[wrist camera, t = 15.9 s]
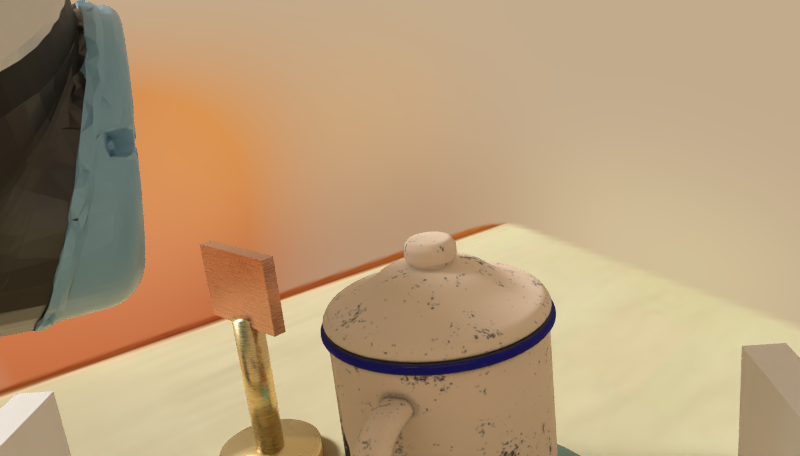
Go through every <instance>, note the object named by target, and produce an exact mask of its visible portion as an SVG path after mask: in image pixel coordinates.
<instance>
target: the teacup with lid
mask: <svg viewBox="0 0 800 456" xmlns="http://www.w3.org/2000/svg"><path fill="white" fill-rule="evenodd" d="M403 250H404V258H402V259H400V260H397V261H395V262H393V263H391V264H390V265H388V266H386V267H385V268H384V269H382V270H381V271H380V272H378V273H375V274H372V275H369V276H367V277H364V278H362V279H360V280H358V281H356V282H354V283H352V284H351V285H349V286H347V287H346V288H345V289H343V290H342V291H341V292H339V293H338V294H337V295H336V296H335V297H334V298H333V299H332V301H331V302H330V303H329V305H328V307H327V309H326V311H325V314H324V316H323V323H322V326H321V338H322V341H323V344H324V345H325V347H326V349H327V350H328V351H329V352H330V356H331V362H332V369H333V376H334V382H335V389H336V396H337V402H338V409H339V415H340V422H341V429H342V435H343V442H344V449H345V455H346V456H558V455H557V438H556V421H555V404H554V386H553V369H552V352H551V335H550V330H551V329H552V327H553V325H554V322H555V318H556V310H555V306H554V303H553V301H552V300H551V297H550V294H549V292H548V291H547V289H546V288H545V286H544V285H543V284H542V283H541V282H540V281H539V280H538V279H536V278H535V277H534V276H532V275H531V274H529V273H527V272H525V271H523V270H520V269H518V268H515V267H512V266H508V265H504V264H500V263H494V262H487V261H483V260H481V259H479V258H477V257H474V256H471V255H468V254H464V253H458V252H457V250H456V242H455V240H454V239H453V238H452V236H451V235H449V234H447V233H443V232H424V233H420V234H416V235H413V236H411V237H410V238H408V240H407V241H406V242H405V244H404V248H403Z"/></svg>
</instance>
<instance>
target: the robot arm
mask: <svg viewBox="0 0 800 456" xmlns="http://www.w3.org/2000/svg"><path fill="white" fill-rule="evenodd" d="M135 138H136V134H135V126H134V117H133V100H132V91H131V82H130V74H129V66H128V59H127V52H126V45H125V38H124V33H123V28H122V23H121V20H120V18H119V15H118V14H117V12H116V11H115V10H114V9H112V8H111V7H109V6H105V5H95V4H92V3H91V2H85V0H80V1H77V2H76V3H74V4H72V5H71V2H70V0H0V337H1V336H7V335H12V334H17V333H22V332H27V331H42V330H45V329H47V328H49V327H51V326H52V325H53V324H54V323H56V322H59V321H63V320H67V319H71V318H74V317H78V316H81V315H85V314H89V313H93V312H96V311H100V310H103V309H107V308H111V307H114V306H116V305H118V304H120V303H121V302H123V301H124V300H126V299H127V298H128V297H130V296H131V295H132V294H133V293H134V291H135V290H136V289H137V287H138V286H139V284H140V282H141V279H142V276H143V273H144V268H145V235H144V217H143V204H142V192H141V181H140V172H139V162H138V154H137V149H136V147H135ZM0 456H71V454H70V450H69V447H68V443H67V439H66V436H65V432H64V428H63V425H62V421H61V418H60V414H59V410H58V407H57V403H56V399H55V396H54V392H53V391H52V392H36V393H21V394H16V395H15V396H14V397H13V398H12V399H10V400H9V401H8V402H7V403H6V404H5V405H4V406H3V407H2V408H1V409H0ZM738 456H800V358H799V357H798V356H797V355H796V353H795V352H794V351H793V350H792V349H791V348H790V347H789V346H788V345H787V344H786V343H782V344H766V345H751V346H742V360H741V390H740V419H739V449H738Z"/></svg>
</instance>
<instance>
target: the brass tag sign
mask: <svg viewBox="0 0 800 456" xmlns="http://www.w3.org/2000/svg"><path fill="white" fill-rule="evenodd" d="M200 248H201V253H202V259H203V264H204V269H205V273H206V279H207V284H208V289H209V294H210V299H211V304H212V309H213V314H215V315H218V316H220V317H223V318H226V319H228V320H231V321H232V324H233V329H234V334H235V339H236V345H237V350H238V355H239V361H240V366H241V371H242V376H243V382H244V387H245V392H246V398H247V403H248V408H249V413H250V419H251V424H252V426H251V427H248V428H246V429H244V430H242V431H241V432H239V433H237V434H236V435H234V436H233V437H232V438H231V439H229V440H228V441H227V443H226V444H225V445H224V446H223V448H222V450H221V452H220V456H323V448H322V442H321V436H320V433H319V431H318V430H317V428H315V427H314V426H313V425H311V424H309V423H307V422H304V421H300V420H293V419H280V414H279V409H278V403H277V397H276V392H275V386H274V380H273V375H272V369H271V363H270V358H269V352H268V346H267V341H266V335H265V333H266V334H269V335H272V336H274V337H275V336H277V335H279V334H281V333H284V332H285V326H284V320H283V314H282V308H281V302H280V296H279V290H278V285H277V279H276V272H275V267H274V261H273V256H269V255H266V254H261V253H258V252H254V251H249V250H245V249H241V248H237V247H233V246H229V245H225V244H221V243H217V242H213V241H209V242H206V243H203V244H200Z"/></svg>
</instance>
